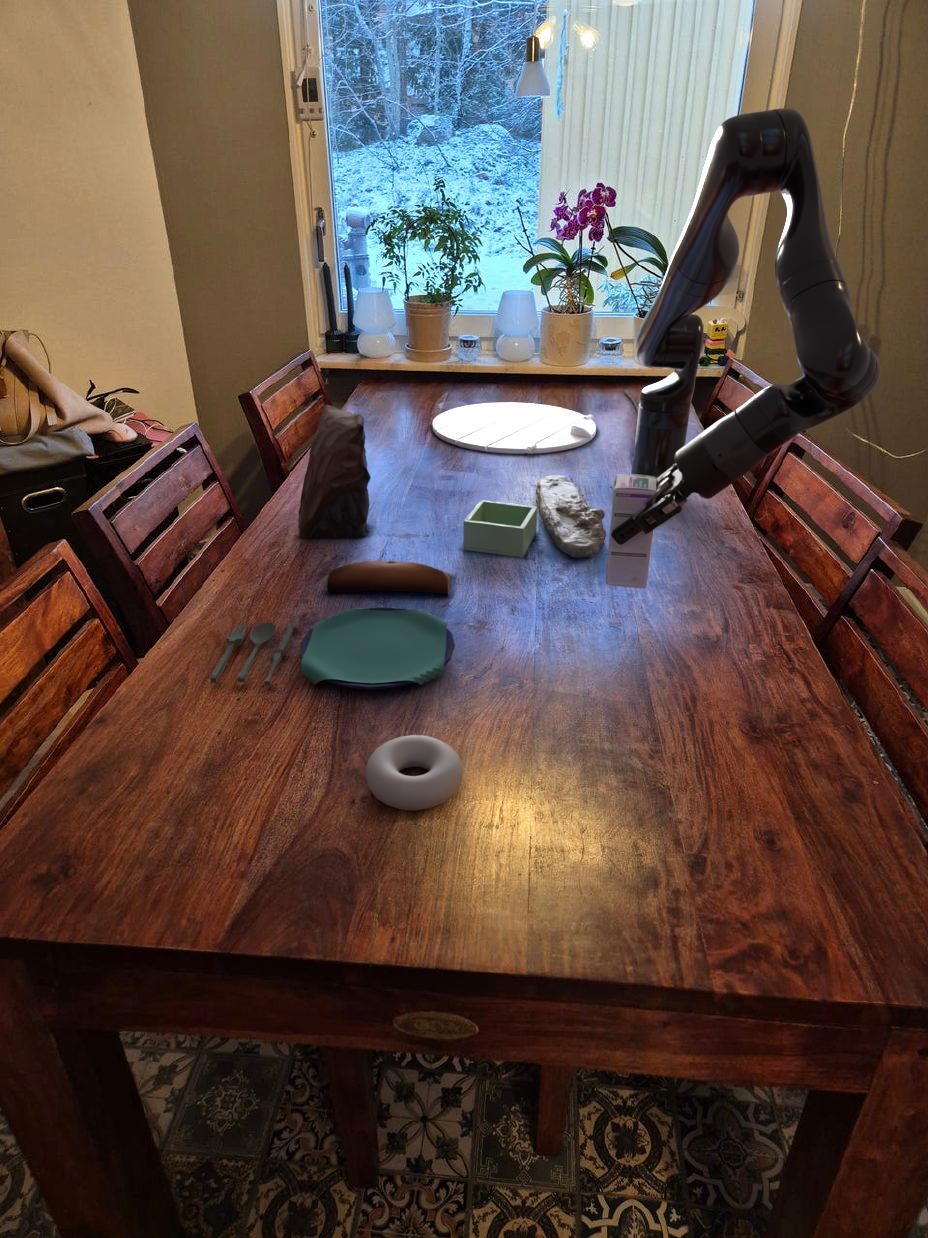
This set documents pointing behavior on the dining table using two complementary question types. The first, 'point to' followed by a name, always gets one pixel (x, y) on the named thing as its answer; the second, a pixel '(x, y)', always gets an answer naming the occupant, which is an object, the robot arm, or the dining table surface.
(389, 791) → the donut
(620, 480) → the syrup box
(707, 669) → the dining table surface
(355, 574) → the sunglasses case
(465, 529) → the socket
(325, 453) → the dark brown rock
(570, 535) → the elongated rock
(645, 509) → the robot arm
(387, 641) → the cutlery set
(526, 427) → the lazy susan
